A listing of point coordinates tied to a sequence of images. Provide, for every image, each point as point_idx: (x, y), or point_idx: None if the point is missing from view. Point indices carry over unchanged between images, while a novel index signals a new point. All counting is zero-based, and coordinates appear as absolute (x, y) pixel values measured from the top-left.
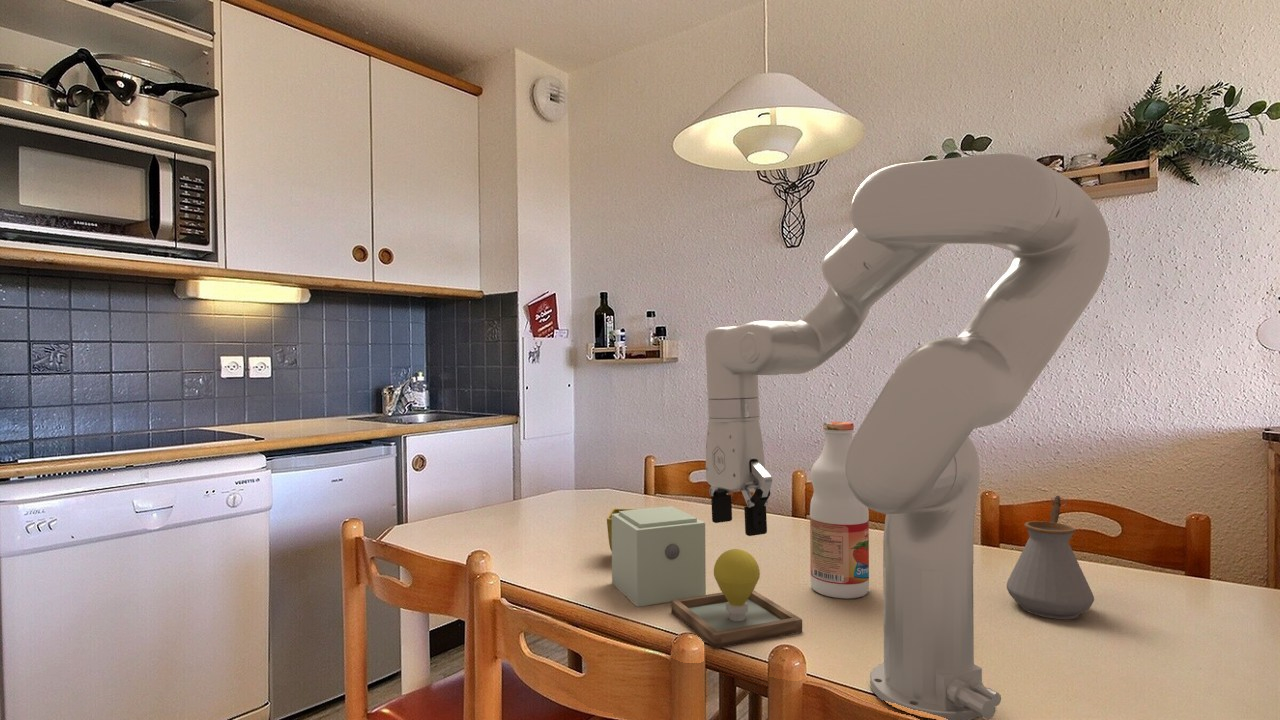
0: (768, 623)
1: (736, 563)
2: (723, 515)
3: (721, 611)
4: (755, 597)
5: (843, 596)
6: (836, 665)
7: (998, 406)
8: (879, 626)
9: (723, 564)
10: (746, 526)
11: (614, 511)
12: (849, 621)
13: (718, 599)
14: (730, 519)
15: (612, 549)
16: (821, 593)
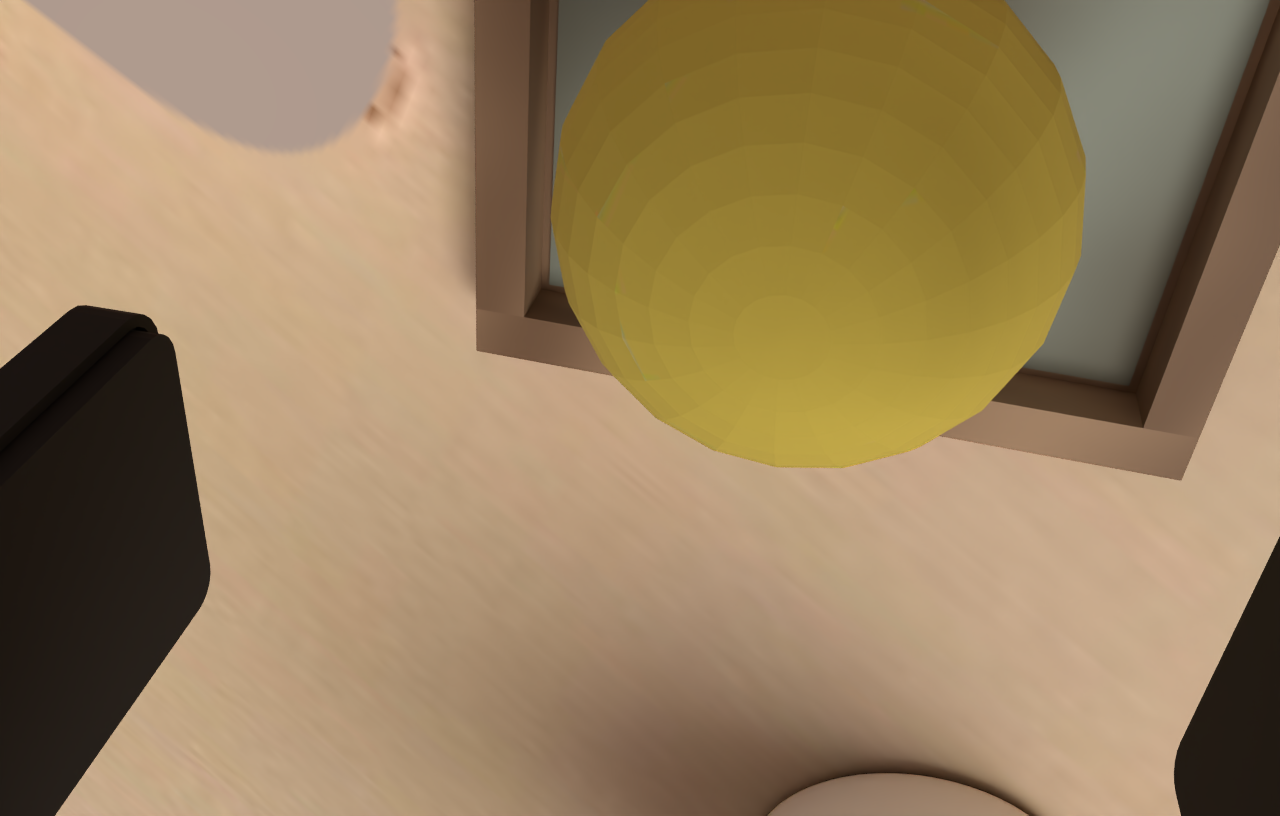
0: (506, 113)
1: (612, 152)
2: (1251, 730)
3: (1047, 26)
4: (1021, 396)
5: (779, 805)
6: (64, 147)
7: None
8: (412, 652)
9: (748, 35)
10: (4, 371)
11: None
12: (523, 603)
13: (1239, 145)
14: (1180, 758)
15: None
16: (905, 776)
